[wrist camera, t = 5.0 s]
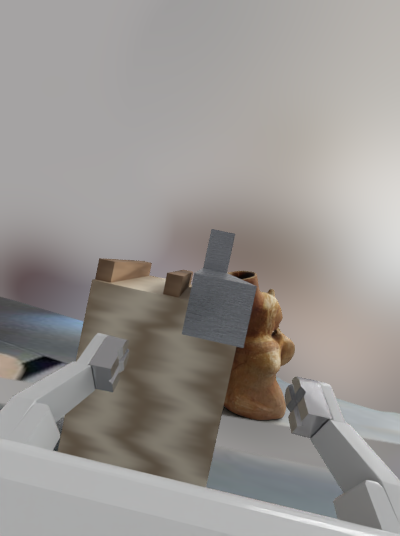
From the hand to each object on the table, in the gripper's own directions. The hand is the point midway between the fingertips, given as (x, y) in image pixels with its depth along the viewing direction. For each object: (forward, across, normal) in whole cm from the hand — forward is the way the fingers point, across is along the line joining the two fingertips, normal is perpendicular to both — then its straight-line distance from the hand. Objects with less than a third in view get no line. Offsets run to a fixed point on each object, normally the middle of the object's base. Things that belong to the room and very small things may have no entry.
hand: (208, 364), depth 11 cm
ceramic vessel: (+21, -12, +41) cm, 48 cm away
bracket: (+9, 0, +4) cm, 10 cm away
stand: (+1, +4, +29) cm, 30 cm away
